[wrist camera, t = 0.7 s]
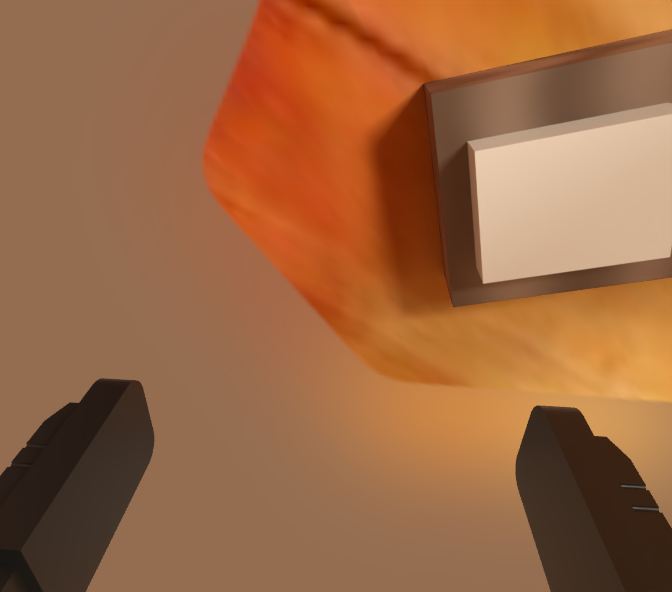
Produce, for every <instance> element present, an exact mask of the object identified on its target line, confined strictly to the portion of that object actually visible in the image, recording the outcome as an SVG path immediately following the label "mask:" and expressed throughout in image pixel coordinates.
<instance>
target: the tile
mask: <svg viewBox="0 0 672 592" xmlns="http://www.w3.org/2000/svg"><path fill="white" fill-rule="evenodd" d="M467 143H468V158H469V172H470V186H471V200H472V214H473V228H474V242H475V256H476V267H477V270H478V272H479V275H480V277H481V280H482V282H483V284H485V283H492V282H499V281H506V280H513V279H520V278H527V277H534V276H541V275H548V274H555V273H562V272H569V271H576V270H583V269H590V268H597V267H604V266H611V265H618V264H625V263H632V262H639V261H646V260H653V259H660V258H667V257H670V254H671V248H672V103H663V104H657V105H652V106H647V107H642V108H637V109H632V110H626V111H621V112H616V113H611V114H606V115H601V116H596V117H590V118H585V119H580V120H575V121H570V122H565V123H559V124H554V125H549V126H544V127H539V128H534V129H529V130H523V131H518V132H513V133H508V134H503V135H498V136H493V137H487V138H482V139H477V140H472V141H467Z"/></svg>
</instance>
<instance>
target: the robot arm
mask: <svg viewBox="0 0 672 592" xmlns="http://www.w3.org/2000/svg"><path fill="white" fill-rule="evenodd" d="M153 447H154V431H153V427H152V423H151V419H150V415H149V411H148V406H147V402H146V398H145V394H144V390H143V387H142V385H141V383H140V382H139V381H136V380H120V379H103V378H102V379H99V380H97V381H96V382H95V383H94V384H93V385H92V386H91V388H90V389H89V390H88V392H87V393H86V394H85V396H84V397H83V398H82V400H81V401H80V403H69V404H67V405H66V406H64V407H63V408H62V409H60V410H59V411H58V412H56V413H55V414H53V415H52V416H51V417H49V418H48V419H47V420H45V421H44V422H43V423H42V425H41V426H40V427H39V429H38V430H37V431H36V432H35V433H34V435H33V436H32V437H31V438H30V440H29V441H28V442H27V446H26V448H22V450H21V451H20V452H19V453H18V455H17V456H16V457H15V458H14V459H13V461H12V464H11V466H10V467H7V468H6V470H5V471H4V472H3V473H2V474H1V476H0V592H86V590H87V588H88V586H89V584H90V582H91V580H92V578H93V576H94V574H95V572H96V570H97V568H98V566H99V564H100V562H101V559H102V558H103V555H104V553H105V551H106V549H107V547H108V545H109V543H110V541H111V539H112V537H113V535H114V533H115V531H116V529H117V527H118V525H119V523H120V521H121V519H122V517H123V515H124V513H125V511H126V509H127V507H128V505H129V503H130V501H131V499H132V497H133V495H134V493H135V490H136V489H137V487H138V484H139V482H140V481H141V479H142V477H143V475H144V472H145V470H146V468H147V466H148V464H149V462H150V459H151V456H152V453H153ZM516 481H517V486H518V490H519V493H520V496H521V500H522V503H523V506H524V509H525V512H526V515H527V518H528V522H529V525H530V528H531V530H532V534H533V537H534V540H535V543H536V547H537V550H538V553H539V556H540V559H541V562H542V565H543V568H544V572H545V575H546V578H547V581H548V584H549V587H550V590H551V592H672V528H671V527H670V525H669V524H668V522H667V520H666V518H665V517H664V515H663V513H660V512H659V509H658V508H659V507H658V505H657V503H656V502H655V500H654V498H653V496H652V495H651V493H650V492H649V490H646V488H645V486H646V485H645V483H644V481H643V480H642V478H641V477H640V475H639V473H638V471H637V470H636V468H635V466H634V465H633V463H632V461H631V460H630V459H629V458H628V457H627V456H626V455H625V454H624V453H623V452H622V451H621V450H620V449H619V448H618V447H617V446H615V444H613V443H612V442H611V441H610V440H609V439H608V438H607V437H599V436H594V435H593V433H592V431H591V429H590V427H589V425H588V424H587V422H586V420H585V418H584V416H583V415H582V413H581V412H580V411H579V410H578V409H577V408H571V407H553V406H536V407H534V408H533V410H532V412H531V415H530V418H529V421H528V424H527V427H526V430H525V433H524V436H523V439H522V442H521V446H520V449H519V452H518V455H517V459H516Z"/></svg>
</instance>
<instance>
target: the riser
mask: <svg viewBox="0 0 672 592" xmlns="http://www.w3.org/2000/svg"><path fill="white" fill-rule="evenodd" d="M424 92H425V101H426V110H427V119H428V128H429V137H430V146H431V155H432V164H433V174H434V183H435V192H436V201H437V210H438V219H439V228H440V237H441V247H442V256H443V265H444V274H445V278H446V282H447V286H448V290H449V294H450V298H451V301H452V305H453V307H457V306H465V305H472V304H480V303H487V302H494V301H502V300H509V299H516V298H524V297H531V296H538V295H546V294H553V293H560V292H568V291H575V290H582V289H590V288H597V287H604V286H612V285H619V284H627V283H634V282H641V281H649V280H656V279H663V278H671V277H672V248H671V254H670V257H667V258H660V259H653V260H646V261H639V262H632V263H625V264H618V265H611V266H604V267H597V268H590V269H583V270H576V271H569V272H562V273H555V274H548V275H541V276H534V277H527V278H520V279H513V280H506V281H499V282H492V283H485V284H483V282H482V280H481V277H480V275H479V272H478V270H477V267H476V256H475V242H474V228H473V214H472V200H471V186H470V172H469V158H468V143H467V141H472V140H477V139H482V138H487V137H493V136H498V135H503V134H508V133H513V132H518V131H523V130H529V129H534V128H539V127H544V126H549V125H554V124H559V123H565V122H570V121H575V120H580V119H585V118H590V117H596V116H601V115H606V114H611V113H616V112H621V111H626V110H632V109H637V108H642V107H647V106H652V105H657V104H663V103H672V30H667V31H663V32H658V33H654V34H649V35H644V36H640V37H635V38H631V39H626V40H621V41H617V42H612V43H608V44H603V45H599V46H594V47H589V48H585V49H580V50H576V51H571V52H566V53H562V54H557V55H553V56H548V57H543V58H539V59H534V60H530V61H525V62H521V63H516V64H511V65H507V66H502V67H498V68H493V69H488V70H484V71H479V72H475V73H470V74H465V75H461V76H456V77H452V78H447V79H443V80H438V81H433V82H429V83H424Z"/></svg>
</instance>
